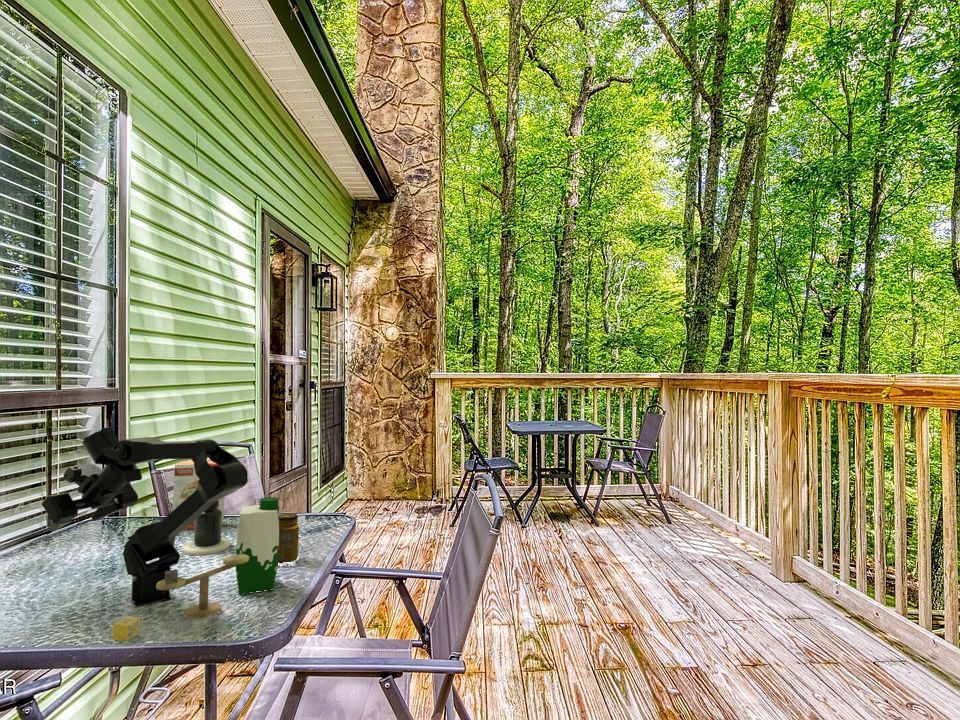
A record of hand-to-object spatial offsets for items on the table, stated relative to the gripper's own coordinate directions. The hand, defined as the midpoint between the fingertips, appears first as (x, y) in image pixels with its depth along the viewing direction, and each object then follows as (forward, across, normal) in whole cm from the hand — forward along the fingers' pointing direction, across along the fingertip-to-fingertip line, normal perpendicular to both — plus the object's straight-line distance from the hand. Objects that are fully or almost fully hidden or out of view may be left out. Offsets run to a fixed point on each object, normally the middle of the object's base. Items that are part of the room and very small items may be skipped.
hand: (73, 524), depth 120 cm
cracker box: (+17, -47, +3) cm, 50 cm away
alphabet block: (-15, +14, +34) cm, 40 cm away
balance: (-19, +2, +38) cm, 42 cm away
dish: (+3, -31, +16) cm, 35 cm away
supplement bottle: (+2, -31, +15) cm, 34 cm away
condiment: (-16, -29, +36) cm, 48 cm away
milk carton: (-19, -12, +39) cm, 45 cm away
